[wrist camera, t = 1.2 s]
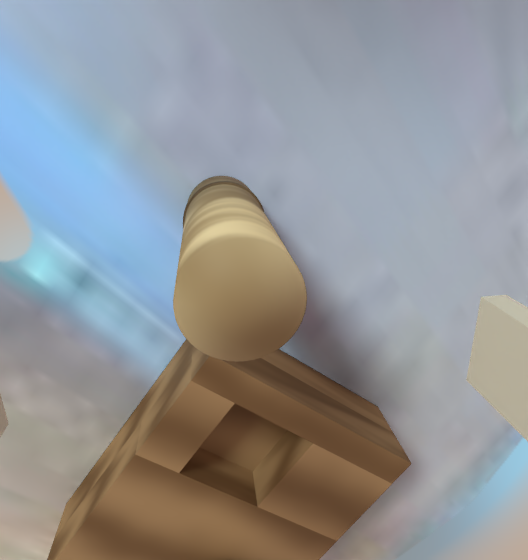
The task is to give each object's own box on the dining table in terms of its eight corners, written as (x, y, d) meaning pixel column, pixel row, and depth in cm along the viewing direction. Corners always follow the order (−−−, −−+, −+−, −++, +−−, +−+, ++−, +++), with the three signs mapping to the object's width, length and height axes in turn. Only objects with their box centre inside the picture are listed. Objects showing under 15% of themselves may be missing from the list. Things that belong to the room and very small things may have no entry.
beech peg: (212, 158, 26) (222, 207, 13) (272, 202, 27) (336, 285, 15) (170, 221, 27) (142, 323, 14) (231, 259, 28) (257, 384, 16)
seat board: (209, 308, 29) (218, 534, 14) (377, 406, 35) (524, 654, 19) (66, 504, 34) (-50, 843, 18) (234, 566, 39) (256, 873, 23)
